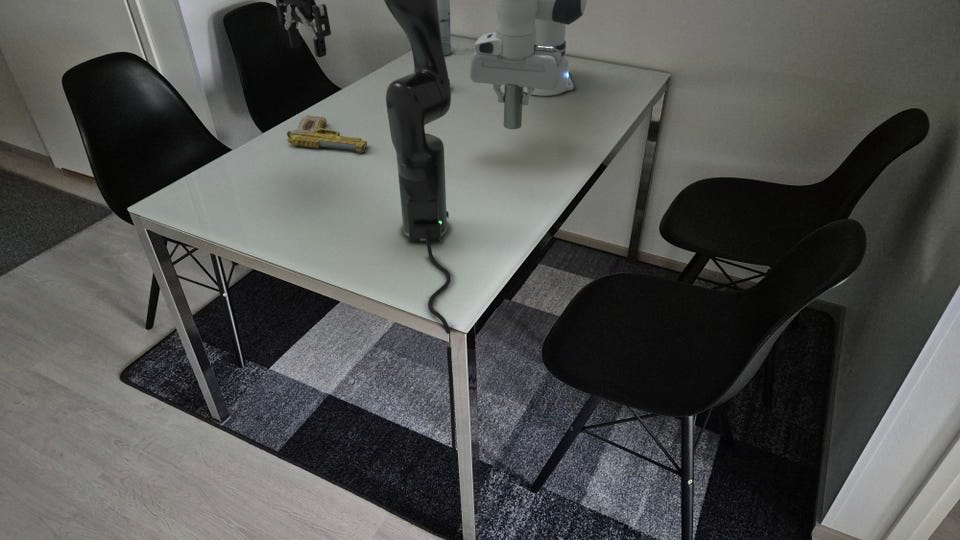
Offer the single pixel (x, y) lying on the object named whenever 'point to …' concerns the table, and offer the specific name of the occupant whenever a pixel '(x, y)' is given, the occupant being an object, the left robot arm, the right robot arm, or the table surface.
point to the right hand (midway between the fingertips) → (513, 102)
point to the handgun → (322, 136)
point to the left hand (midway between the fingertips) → (308, 51)
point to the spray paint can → (445, 24)
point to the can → (513, 106)
